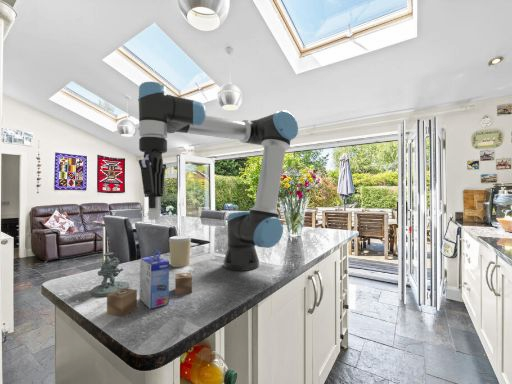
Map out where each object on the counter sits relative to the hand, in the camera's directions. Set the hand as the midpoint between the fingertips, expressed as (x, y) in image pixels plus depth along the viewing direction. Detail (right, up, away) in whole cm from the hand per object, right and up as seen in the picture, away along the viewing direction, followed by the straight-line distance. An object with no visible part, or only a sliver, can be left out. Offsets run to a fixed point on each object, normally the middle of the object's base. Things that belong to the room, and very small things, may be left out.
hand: (154, 219), depth 73 cm
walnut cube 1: (-6, -24, -6) cm, 25 cm away
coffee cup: (-4, -24, +37) cm, 44 cm away
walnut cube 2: (+6, -24, +8) cm, 26 cm away
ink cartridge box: (0, -24, 0) cm, 24 cm away
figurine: (-18, -24, +9) cm, 31 cm away
